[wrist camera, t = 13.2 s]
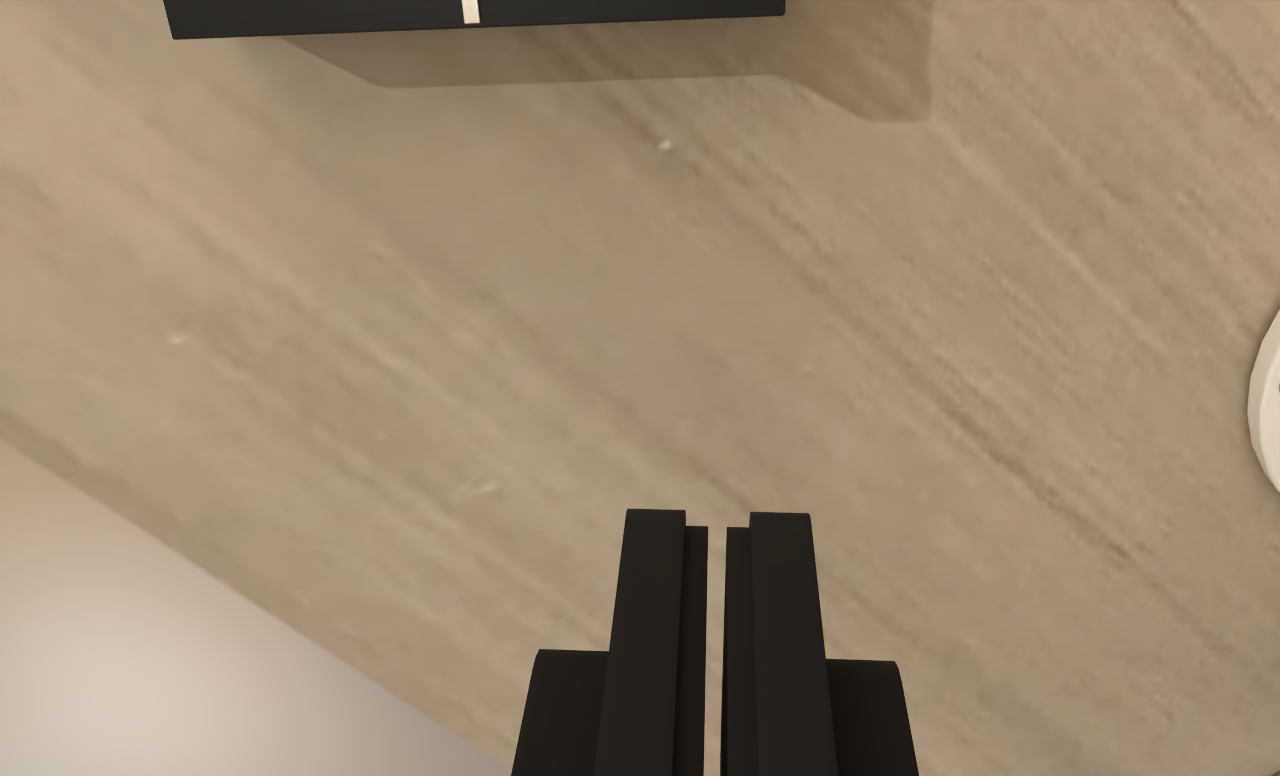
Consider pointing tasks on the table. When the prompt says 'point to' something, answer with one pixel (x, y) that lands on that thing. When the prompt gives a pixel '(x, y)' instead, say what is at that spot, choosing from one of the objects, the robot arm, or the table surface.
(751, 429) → the table surface
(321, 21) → the plate
